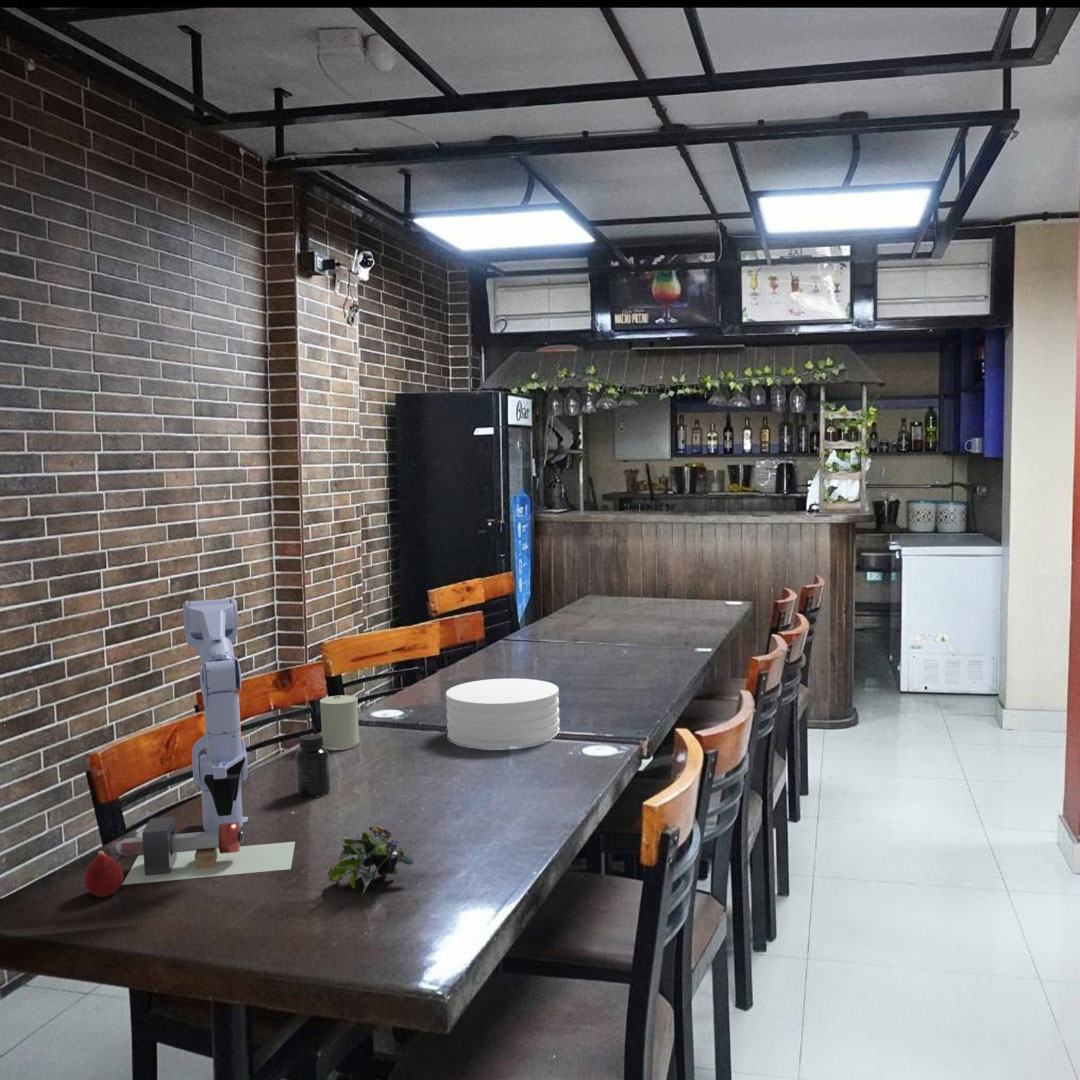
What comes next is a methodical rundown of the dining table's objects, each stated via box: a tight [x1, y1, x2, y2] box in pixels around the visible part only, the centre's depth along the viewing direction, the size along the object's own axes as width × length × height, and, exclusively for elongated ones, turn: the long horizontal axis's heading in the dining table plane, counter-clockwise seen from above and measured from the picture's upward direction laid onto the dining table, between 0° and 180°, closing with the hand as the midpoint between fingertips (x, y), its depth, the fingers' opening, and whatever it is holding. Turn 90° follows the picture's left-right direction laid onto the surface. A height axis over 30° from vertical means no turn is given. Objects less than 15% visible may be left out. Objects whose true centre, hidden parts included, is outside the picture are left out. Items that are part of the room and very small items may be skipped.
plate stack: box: [445, 677, 561, 747], centre depth 262 cm, size 28×28×12 cm
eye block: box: [141, 816, 178, 876], centre depth 180 cm, size 7×4×7 cm, turn 10°
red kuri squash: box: [83, 850, 124, 898], centre depth 169 cm, size 6×6×8 cm
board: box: [121, 841, 296, 886], centre depth 181 cm, size 13×27×1 cm, turn 100°
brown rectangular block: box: [195, 847, 218, 869], centre depth 181 cm, size 5×3×2 cm, turn 10°
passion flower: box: [327, 826, 414, 897], centre depth 171 cm, size 11×11×12 cm
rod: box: [115, 822, 245, 857], centre depth 180 cm, size 5×21×5 cm, turn 100°
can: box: [319, 694, 360, 747], centre depth 257 cm, size 9×9×12 cm
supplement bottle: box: [294, 733, 331, 798], centre depth 220 cm, size 7×7×12 cm
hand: (227, 807), depth 181 cm, fingers open, 7 cm apart
